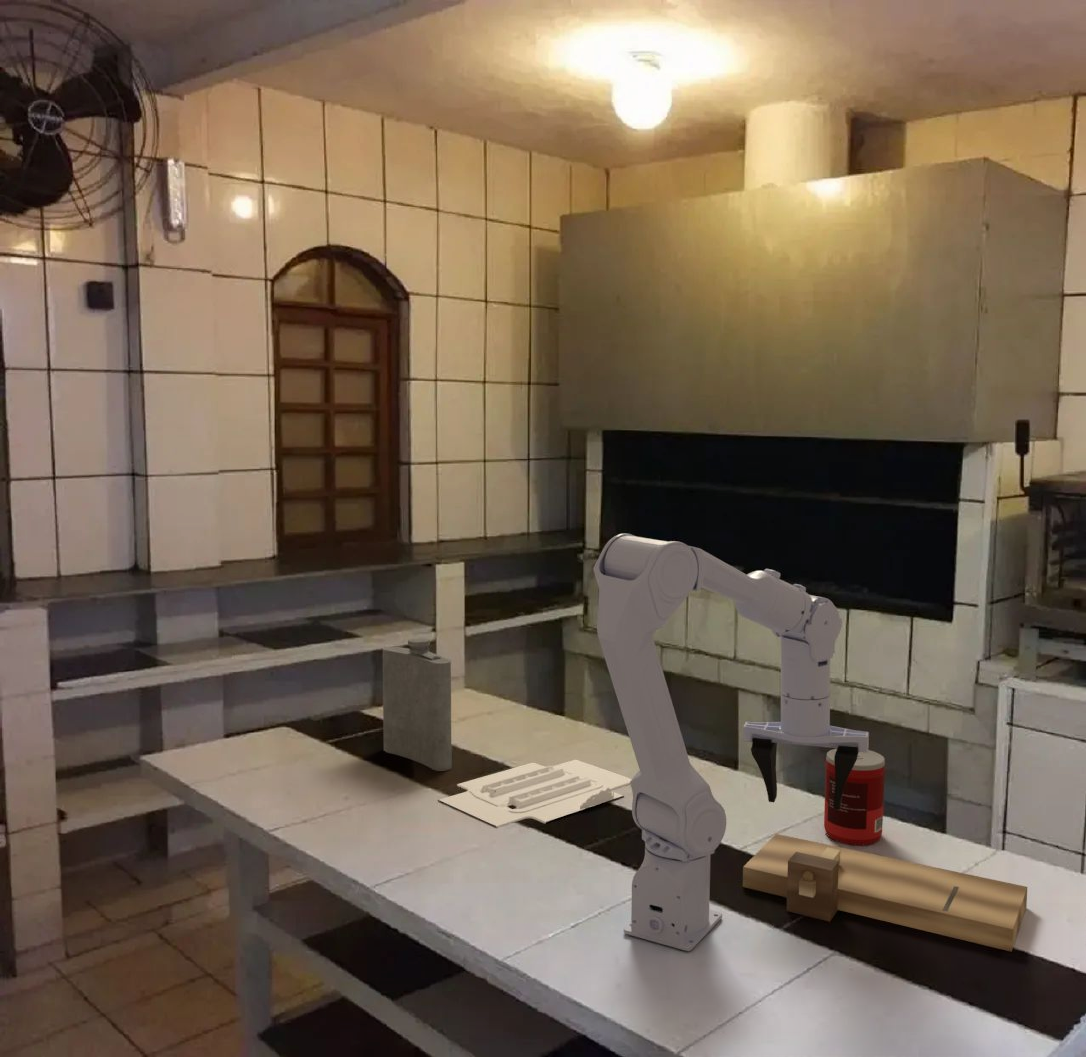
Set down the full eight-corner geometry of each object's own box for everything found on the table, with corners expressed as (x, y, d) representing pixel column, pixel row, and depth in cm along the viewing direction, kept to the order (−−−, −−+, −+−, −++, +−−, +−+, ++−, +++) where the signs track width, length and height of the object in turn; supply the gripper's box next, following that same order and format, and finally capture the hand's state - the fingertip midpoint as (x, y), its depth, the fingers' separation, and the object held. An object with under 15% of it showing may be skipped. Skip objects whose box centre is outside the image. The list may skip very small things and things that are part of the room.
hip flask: (379, 750, 181) (378, 633, 179) (399, 744, 184) (397, 630, 182) (440, 772, 170) (439, 648, 168) (459, 766, 173) (459, 644, 170)
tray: (423, 799, 160) (424, 775, 159) (560, 765, 178) (561, 744, 178) (512, 840, 145) (513, 813, 144) (651, 798, 163) (652, 775, 163)
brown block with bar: (827, 925, 119) (828, 873, 119) (783, 914, 122) (785, 863, 121) (853, 888, 129) (855, 840, 128) (812, 878, 131) (814, 831, 131)
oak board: (1011, 951, 114) (1012, 929, 113) (742, 886, 129) (743, 866, 129) (1026, 907, 124) (1027, 886, 124) (775, 852, 139) (776, 833, 139)
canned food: (870, 823, 149) (873, 746, 148) (891, 846, 141) (894, 765, 140) (816, 823, 149) (818, 747, 148) (833, 846, 141) (836, 765, 140)
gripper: (871, 688, 129) (869, 797, 130) (750, 680, 134) (750, 784, 136) (866, 705, 122) (865, 819, 124) (739, 695, 127) (740, 805, 129)
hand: (804, 802), depth 129 cm, fingers open, 7 cm apart
